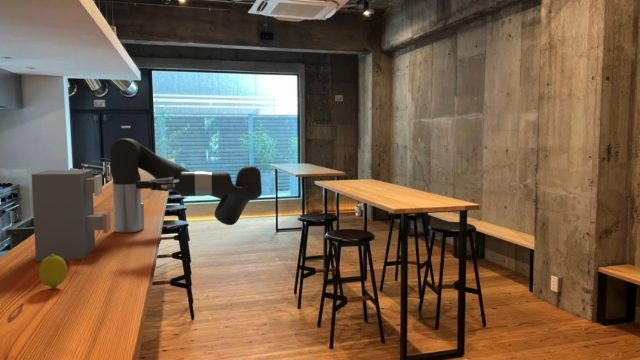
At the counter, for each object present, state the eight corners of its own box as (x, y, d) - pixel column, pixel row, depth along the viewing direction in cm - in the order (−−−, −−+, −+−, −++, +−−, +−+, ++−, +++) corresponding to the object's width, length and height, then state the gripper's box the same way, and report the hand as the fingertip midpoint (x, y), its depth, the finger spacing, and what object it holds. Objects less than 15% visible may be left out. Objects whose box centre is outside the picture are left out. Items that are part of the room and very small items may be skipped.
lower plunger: (110, 229, 140) (110, 211, 139) (107, 232, 135) (106, 214, 134) (78, 230, 138) (77, 212, 137) (73, 234, 133) (72, 215, 132)
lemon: (55, 293, 102) (53, 258, 102) (34, 291, 103) (32, 256, 103) (73, 285, 108) (72, 251, 107) (52, 283, 109) (51, 250, 108)
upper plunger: (102, 193, 138) (101, 175, 138) (98, 195, 133) (97, 176, 133) (69, 193, 136) (68, 175, 136) (63, 196, 131) (63, 177, 130)
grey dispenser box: (95, 246, 143) (92, 169, 141) (83, 258, 130) (80, 173, 127) (52, 248, 141) (48, 170, 138) (36, 261, 127) (31, 174, 125)
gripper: (196, 199, 136) (133, 200, 131) (196, 193, 148) (139, 194, 144) (195, 173, 135) (132, 174, 131) (196, 169, 148) (138, 170, 143)
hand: (136, 184), depth 137 cm, fingers closed
